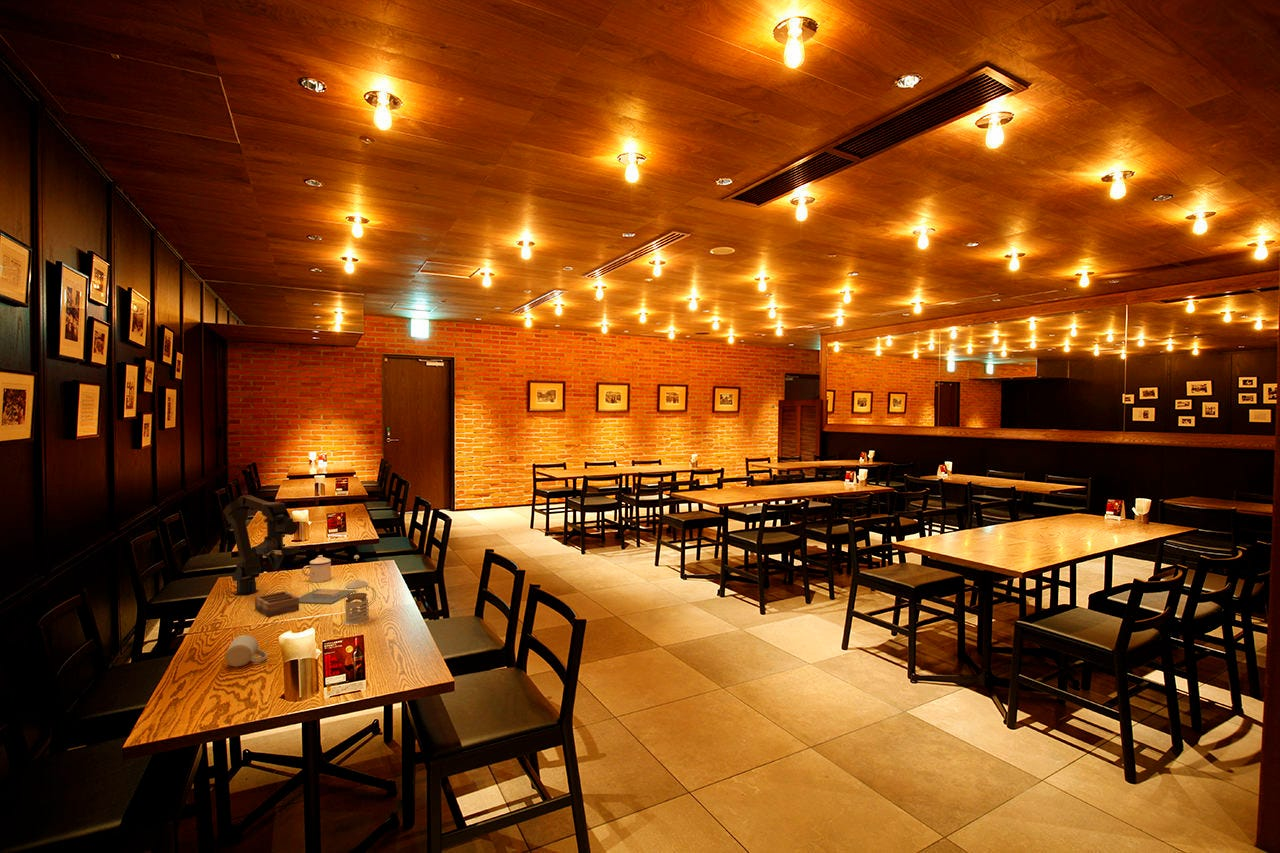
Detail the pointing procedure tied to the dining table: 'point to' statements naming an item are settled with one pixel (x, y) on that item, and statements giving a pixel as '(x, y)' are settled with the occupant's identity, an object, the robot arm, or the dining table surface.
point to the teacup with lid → (319, 569)
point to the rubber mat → (310, 600)
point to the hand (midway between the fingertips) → (275, 570)
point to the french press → (357, 603)
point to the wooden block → (327, 594)
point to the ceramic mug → (243, 651)
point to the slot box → (276, 604)
